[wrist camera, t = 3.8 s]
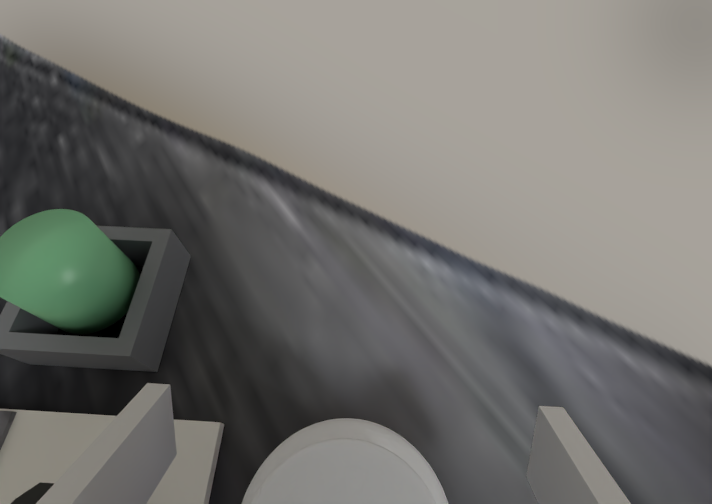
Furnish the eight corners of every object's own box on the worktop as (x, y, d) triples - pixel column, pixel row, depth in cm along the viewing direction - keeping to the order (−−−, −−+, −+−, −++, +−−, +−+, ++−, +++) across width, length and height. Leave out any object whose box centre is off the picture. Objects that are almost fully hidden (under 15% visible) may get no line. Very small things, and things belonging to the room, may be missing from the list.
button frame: (191, 256, 22) (171, 229, 19) (157, 372, 19) (129, 356, 16) (79, 250, 22) (46, 223, 20) (28, 364, 19) (-17, 347, 17)
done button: (151, 255, 20) (112, 211, 17) (123, 336, 18) (73, 304, 15) (69, 250, 20) (15, 206, 17) (32, 331, 18) (-38, 298, 15)
